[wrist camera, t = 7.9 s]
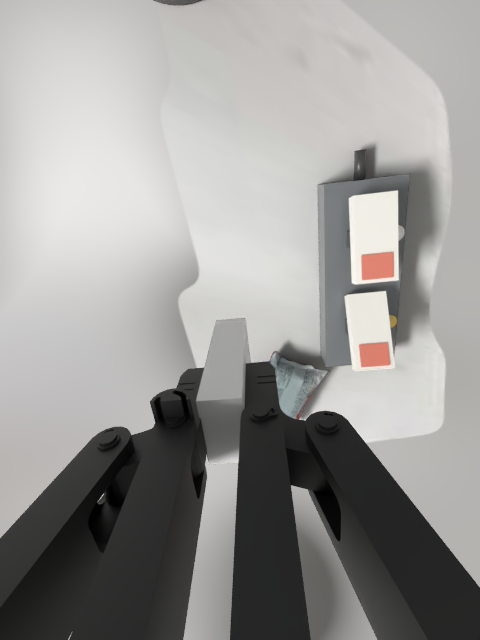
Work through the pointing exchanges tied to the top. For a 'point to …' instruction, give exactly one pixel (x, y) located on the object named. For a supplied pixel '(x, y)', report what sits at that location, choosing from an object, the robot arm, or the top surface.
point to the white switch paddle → (369, 331)
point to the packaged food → (295, 384)
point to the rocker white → (374, 237)
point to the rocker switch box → (338, 257)
